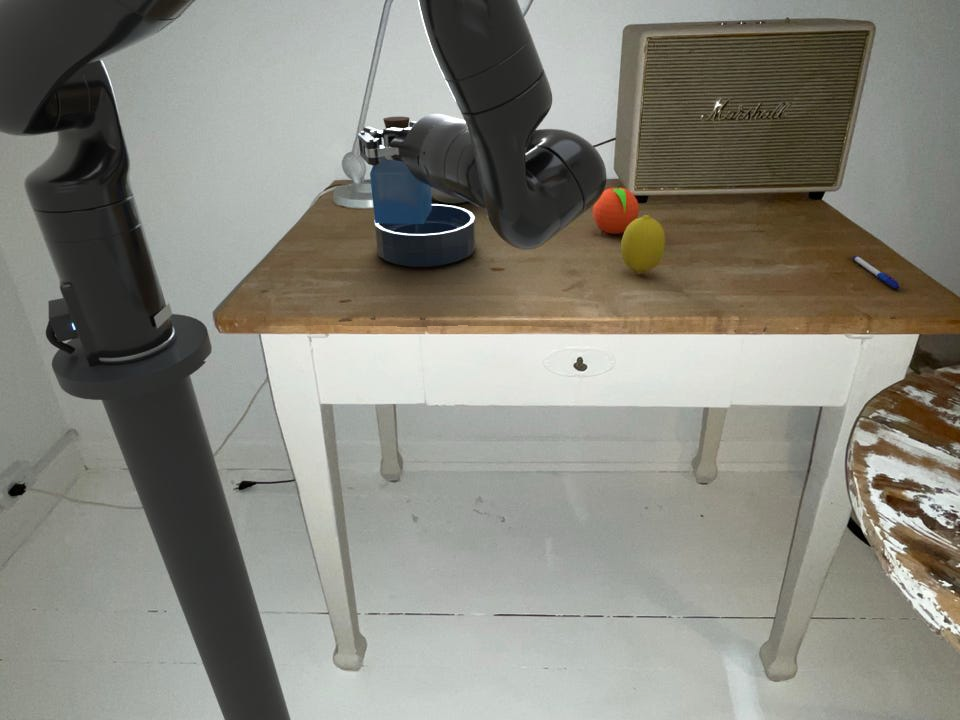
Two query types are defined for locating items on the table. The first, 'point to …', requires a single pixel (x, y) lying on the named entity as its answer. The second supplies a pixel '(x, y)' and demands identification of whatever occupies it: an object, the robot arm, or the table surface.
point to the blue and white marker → (878, 273)
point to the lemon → (643, 244)
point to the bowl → (428, 238)
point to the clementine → (615, 210)
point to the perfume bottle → (398, 188)
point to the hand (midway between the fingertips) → (389, 132)
